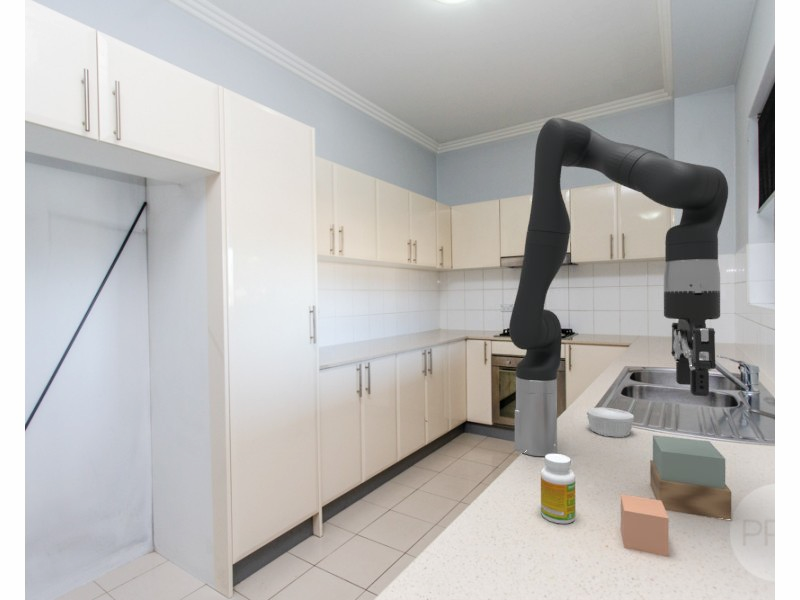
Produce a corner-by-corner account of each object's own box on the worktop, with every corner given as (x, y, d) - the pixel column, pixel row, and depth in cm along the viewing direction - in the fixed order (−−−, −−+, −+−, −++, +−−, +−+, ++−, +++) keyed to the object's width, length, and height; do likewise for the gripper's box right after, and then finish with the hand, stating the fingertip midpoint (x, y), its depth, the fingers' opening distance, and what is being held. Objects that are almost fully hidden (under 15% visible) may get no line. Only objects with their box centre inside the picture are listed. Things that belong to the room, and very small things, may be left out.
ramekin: (638, 431, 113) (638, 412, 113) (627, 442, 105) (627, 421, 105) (594, 423, 121) (594, 405, 121) (581, 433, 112) (581, 413, 112)
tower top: (661, 480, 73) (661, 451, 72) (652, 461, 81) (652, 435, 81) (725, 489, 69) (725, 458, 69) (709, 468, 77) (709, 441, 77)
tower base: (659, 510, 72) (659, 481, 72) (650, 485, 81) (650, 460, 81) (731, 522, 68) (731, 491, 68) (713, 495, 77) (713, 468, 77)
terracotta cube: (624, 548, 61) (624, 510, 61) (620, 529, 66) (620, 494, 66) (668, 557, 59) (668, 518, 59) (661, 536, 64) (661, 500, 64)
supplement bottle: (572, 528, 66) (572, 466, 66) (537, 518, 69) (537, 459, 69) (578, 513, 71) (577, 455, 71) (545, 504, 74) (544, 449, 74)
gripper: (655, 290, 76) (655, 379, 76) (675, 289, 63) (675, 397, 63) (704, 289, 73) (705, 382, 74) (736, 288, 60) (736, 401, 60)
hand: (691, 389), depth 68 cm, fingers open, 8 cm apart
